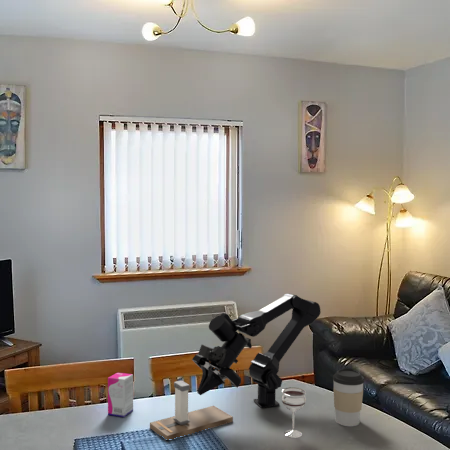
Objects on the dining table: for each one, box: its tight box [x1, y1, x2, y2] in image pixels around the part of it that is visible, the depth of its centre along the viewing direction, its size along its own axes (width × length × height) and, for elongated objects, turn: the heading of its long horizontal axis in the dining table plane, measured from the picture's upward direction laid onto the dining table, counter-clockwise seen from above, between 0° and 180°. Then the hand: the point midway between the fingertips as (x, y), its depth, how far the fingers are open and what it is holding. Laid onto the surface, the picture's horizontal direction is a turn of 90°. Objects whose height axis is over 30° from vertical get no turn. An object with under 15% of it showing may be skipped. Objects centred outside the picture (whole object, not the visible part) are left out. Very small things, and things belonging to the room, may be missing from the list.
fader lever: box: [173, 380, 191, 425], centre depth 153 cm, size 3×4×11 cm
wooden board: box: [149, 405, 234, 440], centre depth 155 cm, size 22×10×2 cm, turn 125°
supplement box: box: [107, 372, 134, 418], centre depth 163 cm, size 6×6×12 cm
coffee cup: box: [332, 367, 365, 427], centre depth 158 cm, size 9×9×15 cm
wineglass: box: [281, 387, 307, 439], centre depth 150 cm, size 7×7×12 cm
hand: (198, 394), depth 156 cm, fingers closed
